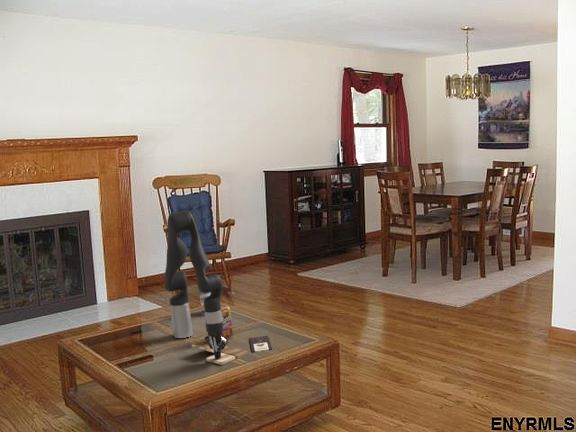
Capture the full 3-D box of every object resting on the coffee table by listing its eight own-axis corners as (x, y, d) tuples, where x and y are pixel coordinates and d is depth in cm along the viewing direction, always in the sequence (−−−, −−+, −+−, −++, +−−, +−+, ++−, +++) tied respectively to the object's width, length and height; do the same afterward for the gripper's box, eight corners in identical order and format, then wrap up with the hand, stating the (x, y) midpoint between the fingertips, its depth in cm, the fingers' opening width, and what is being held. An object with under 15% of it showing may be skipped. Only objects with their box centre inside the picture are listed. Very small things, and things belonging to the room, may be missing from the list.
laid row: (204, 350, 274) (204, 347, 274) (214, 345, 279) (214, 343, 279) (237, 358, 260) (236, 356, 259) (247, 353, 264) (247, 351, 264)
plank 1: (191, 346, 268) (192, 344, 268) (204, 350, 273) (204, 347, 274) (206, 350, 261) (206, 347, 261) (218, 353, 267) (219, 351, 267)
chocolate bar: (267, 335, 284) (271, 348, 267) (268, 337, 284) (272, 350, 267) (249, 338, 283) (252, 351, 265) (249, 340, 283) (252, 353, 266)
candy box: (217, 342, 283) (213, 311, 281) (213, 340, 287) (209, 310, 284) (233, 337, 288) (230, 307, 286) (229, 335, 291) (226, 305, 289)
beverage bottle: (219, 312, 332) (215, 277, 329) (208, 316, 325) (204, 281, 323) (209, 310, 337) (205, 276, 334) (198, 314, 331) (194, 280, 328)
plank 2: (206, 360, 260) (206, 358, 260) (219, 354, 266) (219, 352, 266) (221, 365, 254) (221, 362, 253) (235, 358, 260) (235, 356, 259)
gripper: (197, 320, 258) (201, 358, 260) (217, 325, 249) (221, 364, 251) (210, 316, 263) (214, 353, 266) (230, 320, 255) (234, 358, 257)
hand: (218, 358), depth 258 cm, fingers closed
